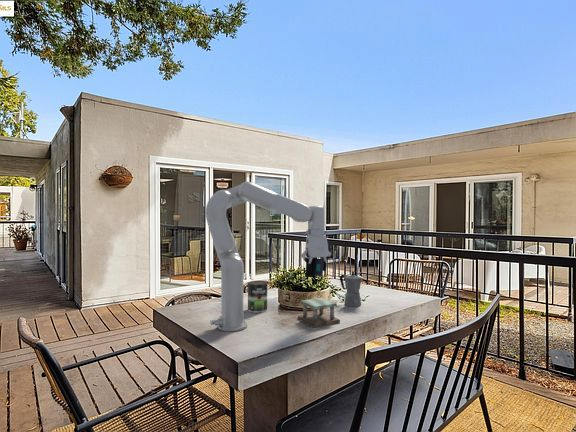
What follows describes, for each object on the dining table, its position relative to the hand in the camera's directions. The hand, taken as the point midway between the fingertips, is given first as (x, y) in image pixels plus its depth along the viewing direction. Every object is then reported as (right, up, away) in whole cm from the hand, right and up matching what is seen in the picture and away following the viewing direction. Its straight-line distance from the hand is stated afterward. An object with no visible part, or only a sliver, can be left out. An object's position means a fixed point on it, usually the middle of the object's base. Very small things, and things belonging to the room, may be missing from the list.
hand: (316, 271), depth 158 cm
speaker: (-1, -3, 0) cm, 3 cm away
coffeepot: (+21, -23, +30) cm, 44 cm away
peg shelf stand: (+1, -23, 0) cm, 23 cm away
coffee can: (-29, -23, +18) cm, 41 cm away
